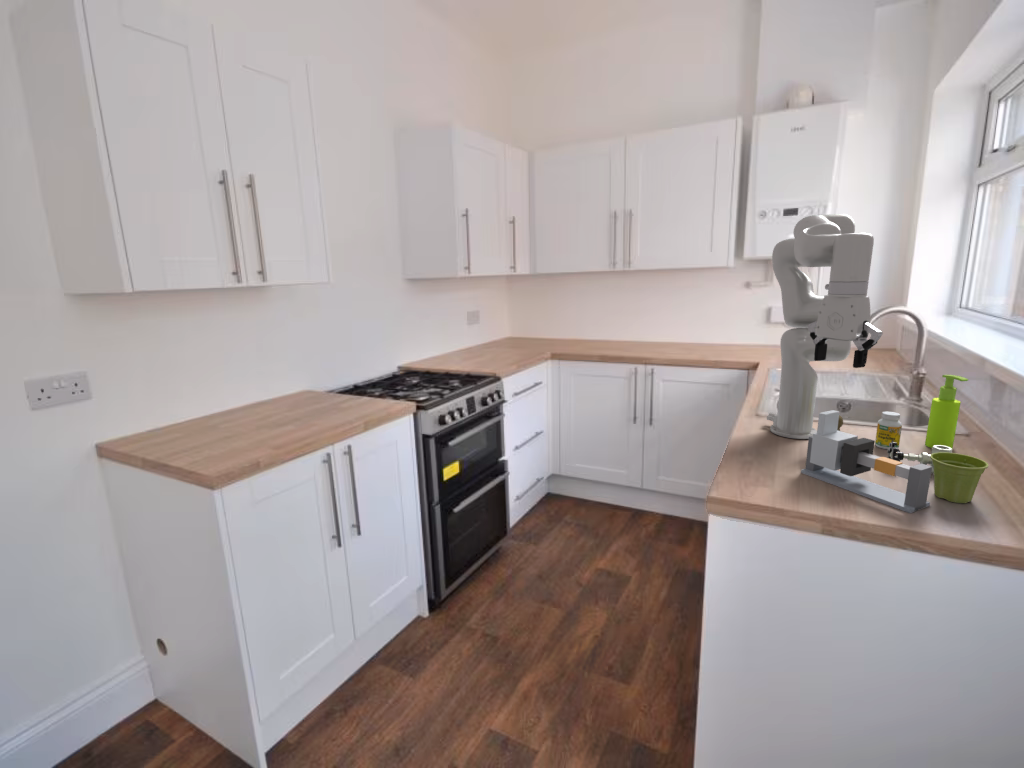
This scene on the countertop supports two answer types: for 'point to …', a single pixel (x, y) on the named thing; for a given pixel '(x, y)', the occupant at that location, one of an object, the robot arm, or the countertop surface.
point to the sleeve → (829, 441)
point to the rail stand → (906, 502)
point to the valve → (922, 458)
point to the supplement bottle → (888, 430)
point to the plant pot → (956, 476)
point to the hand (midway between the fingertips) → (838, 363)
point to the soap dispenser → (944, 415)
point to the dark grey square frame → (855, 456)
